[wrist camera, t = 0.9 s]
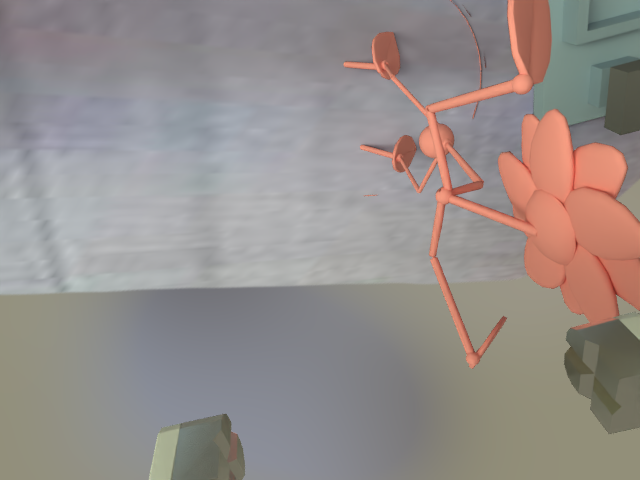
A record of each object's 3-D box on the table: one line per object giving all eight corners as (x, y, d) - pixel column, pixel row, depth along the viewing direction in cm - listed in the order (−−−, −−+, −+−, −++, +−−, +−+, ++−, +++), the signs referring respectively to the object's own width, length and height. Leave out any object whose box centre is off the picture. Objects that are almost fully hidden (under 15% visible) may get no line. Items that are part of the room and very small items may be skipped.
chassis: (536, -80, 44) (585, -85, 37) (685, -120, 43) (760, -132, 37) (533, 126, 54) (570, 149, 48) (653, 95, 54) (706, 114, 48)
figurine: (366, 213, 57) (505, 490, 27) (317, -24, 44) (486, 11, 14) (489, 179, 57) (760, 418, 27) (477, -69, 44) (987, -128, 14)
